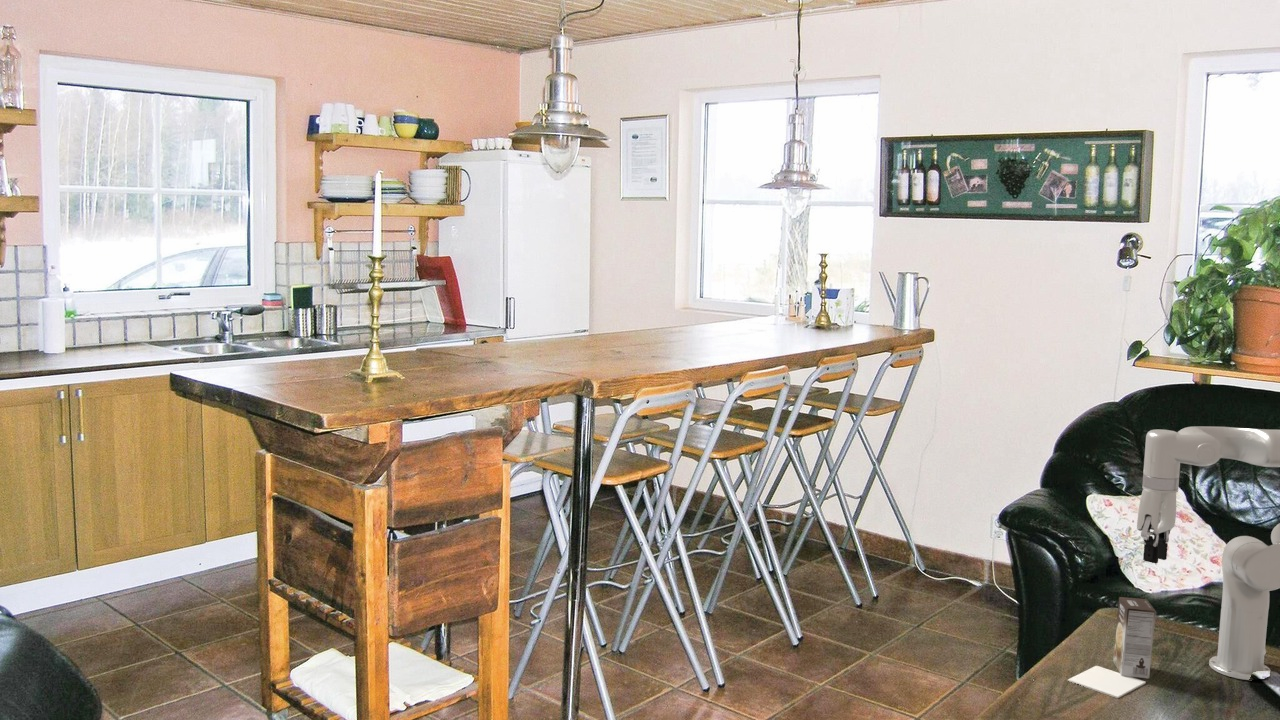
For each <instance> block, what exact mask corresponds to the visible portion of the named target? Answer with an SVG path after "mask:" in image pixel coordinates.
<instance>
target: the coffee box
mask: <svg viewBox="0 0 1280 720" xmlns="http://www.w3.org/2000/svg"><path fill="white" fill-rule="evenodd" d="M1156 614H1157V610H1156V609H1155V608H1154V607H1153V605H1152V604H1151V602H1150V601H1149V600H1148V598H1137V597H1136V598H1135V597H1126V596H1125V597H1124V596H1119V597H1118V607H1117V619H1116V626H1115V627H1116V629H1115V640H1114V648H1113V649H1114V650H1113V663H1114V665H1115V667H1116V669H1117V670H1118V671H1117V672H1118V673H1120V674H1121V675H1122V676H1130V677H1133V678H1138V679H1139V678H1140V679H1150V673H1151V665H1152V664H1151V663H1152V654H1153V645H1154V635H1155V627H1156V626H1155V624H1156V616H1157V615H1156Z"/></svg>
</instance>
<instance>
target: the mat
mask: <svg viewBox="0 0 1280 720" xmlns="http://www.w3.org/2000/svg"><path fill="white" fill-rule="evenodd" d="M1068 681H1069V683H1071V682H1072V684H1074V683H1076V684H1075V685H1077V684H1079V685H1078V686H1080V685H1081V686H1080V687H1083V686H1084V688H1086V689H1089V690H1092V691H1094V692H1098V693H1101V694H1104V695H1106V696H1110V697H1113V698H1116V699H1120V698H1121V697H1123V696H1125V695H1127V694H1129V693H1131V692H1132V691H1134V690H1135V689H1139V688H1140V687H1142V686H1144V685H1145V684H1147V683H1146V682H1147V681H1144V680H1142V679H1139V678H1137V677H1130V676H1122V675H1121V674H1120V672H1119V671H1114V670H1111V669H1109V668H1105V667H1102V666H1099V665H1094V666H1092V667H1090V668H1089V669H1087V670H1084V671H1082V672H1081V673H1080V672H1079V673H1078V674H1077V675H1074V676H1072V677H1070V678H1068V679H1067V682H1068Z"/></svg>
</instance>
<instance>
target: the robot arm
mask: <svg viewBox="0 0 1280 720" xmlns="http://www.w3.org/2000/svg"><path fill="white" fill-rule="evenodd" d="M1220 459H1230V460H1235V461H1240V462H1243V463H1247V464H1250V465H1254V466H1259V467H1266V468H1280V429H1265V428H1262V429H1261V428H1250V427H1249V428H1247V427H1245V428H1244V427H1233V426H1231V427H1230V426H1210V425H1209V426H1202V425H1201V426H1200V425H1199V426H1195V425H1194V426H1187V427H1184V428H1182V429H1180V430H1178V431H1175V430H1169V429H1157V428H1156V429H1150V430H1149V431H1147V433H1146V436H1145V447H1144V459H1143V470H1142V471H1143V475H1142V484H1141V485H1142V487H1141V488H1142V492H1141V496H1140V499H1139V500H1140V501H1139V505H1138V512H1137V521H1136V529H1137V530H1138V531H1141V533H1140V537H1141V538H1142V539H1143V559H1142V560H1143V561H1144V562H1146V563H1147V562H1148V563H1151V564H1158V563H1159V560H1161V561H1162V560H1163V561H1166V560H1167V556H1168V545H1169V544H1168V543H1169V541H1170V534H1171V531H1172V529H1174V528H1175V524H1176V519H1177V493H1178V492H1179V484H1180V483H1179V482H1180V469H1181V464H1185V465H1192V466H1195V467H1196V466H1197V467H1209V466H1211V465H1214V464H1216V463H1218V461H1219V460H1220ZM1151 530H1152V531H1151ZM1270 533H1271V534H1270V540H1271V543H1272V544H1271V545H1268V544H1266V543H1265V542H1264V541H1262V540H1260V539H1258V538H1256V537H1253V536H1249V535H1240V536H1237V537H1234V538H1232V539H1231V540H1229V542H1227V544H1226V545H1225V546H1224V548H1223V551H1222V555H1221V556H1222V557H1221V558H1222V559H1221V564H1222V565H1221V567H1222V593H1221V594H1222V596H1221V597H1222V598H1221V608H1220V618H1219V619H1220V620H1219V631H1218V632H1219V633H1218V644H1217V655H1215V656H1212V657H1211V658H1209V662H1208V664H1209V667H1210V668H1211V669H1212V670H1214V671H1215V672H1217V673H1218V674H1221V675H1224V676H1227V677H1231V678H1233V679H1238V680H1244V681H1250V680H1249V679H1250V677H1251V674H1252V673H1253V672H1256V671H1271V668H1270V667H1269V666H1267V665H1265V663H1264V662H1265V655H1266V653H1267V649H1266V639H1267V629H1268V628H1267V627H1268V618H1269V609H1270V591H1276V590H1278V589H1280V522H1279V523H1278V524H1276V526H1274V527H1273V529H1272V531H1271V532H1270Z"/></svg>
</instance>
